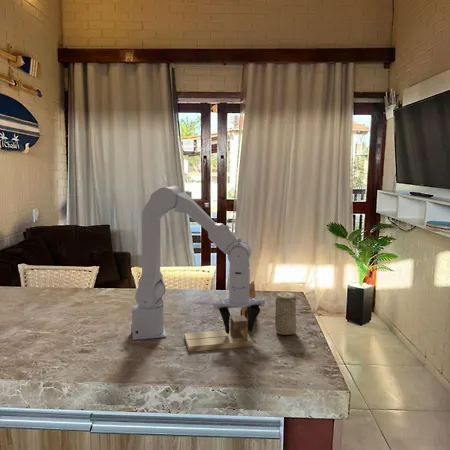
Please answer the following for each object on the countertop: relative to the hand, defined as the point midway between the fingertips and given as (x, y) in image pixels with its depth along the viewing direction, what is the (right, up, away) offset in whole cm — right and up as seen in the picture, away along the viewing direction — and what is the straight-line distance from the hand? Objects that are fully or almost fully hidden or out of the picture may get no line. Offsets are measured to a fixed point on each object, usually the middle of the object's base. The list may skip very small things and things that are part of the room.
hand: (238, 331), depth 121 cm
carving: (+14, -2, +6) cm, 15 cm away
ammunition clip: (+4, -1, +15) cm, 16 cm away
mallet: (+1, -1, -2) cm, 3 cm away
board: (-6, -3, -1) cm, 7 cm away
